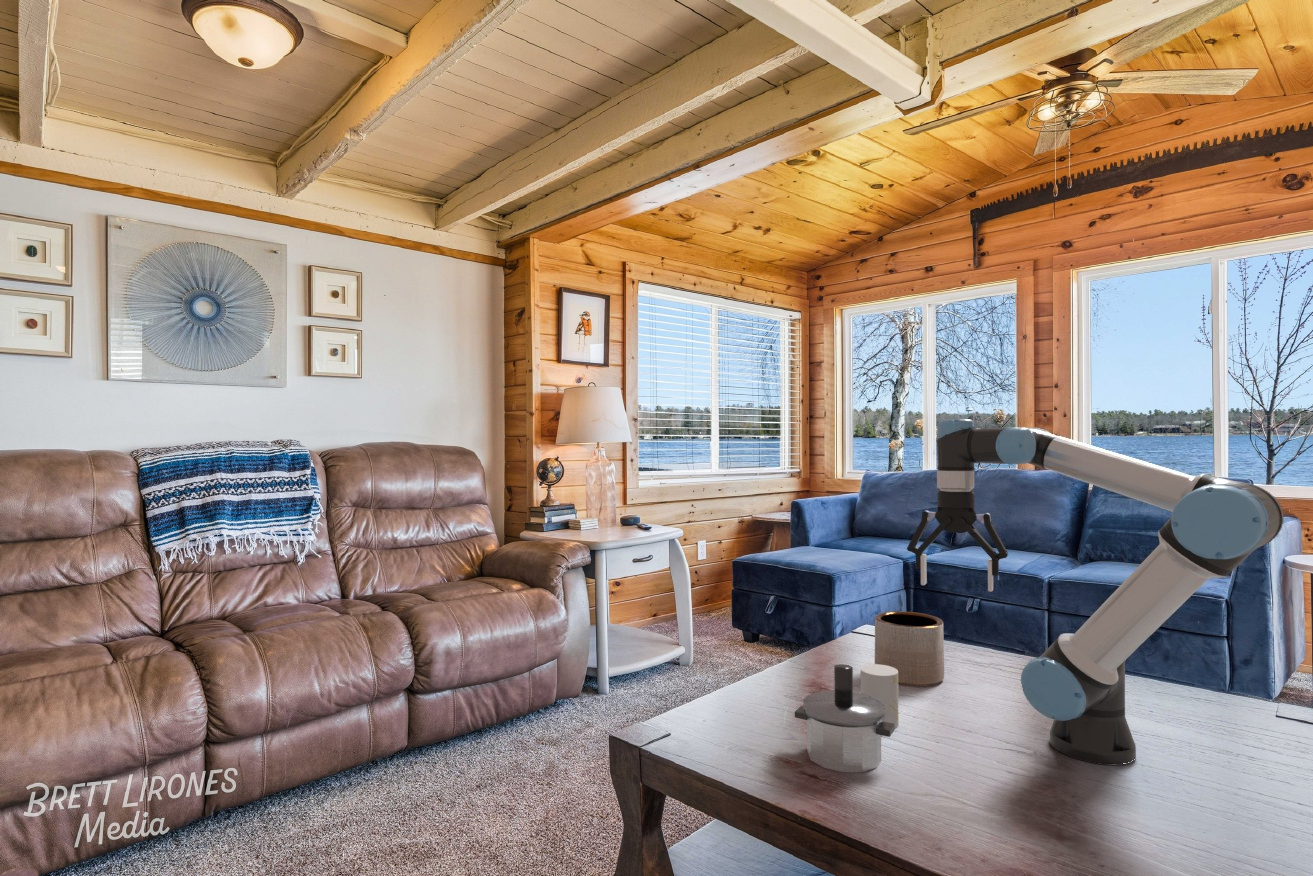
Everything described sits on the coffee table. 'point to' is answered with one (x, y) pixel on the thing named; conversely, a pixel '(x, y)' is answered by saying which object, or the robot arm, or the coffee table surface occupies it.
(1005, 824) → the coffee table surface
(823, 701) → the lid
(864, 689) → the beige cylinder
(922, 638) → the planter
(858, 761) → the pot
